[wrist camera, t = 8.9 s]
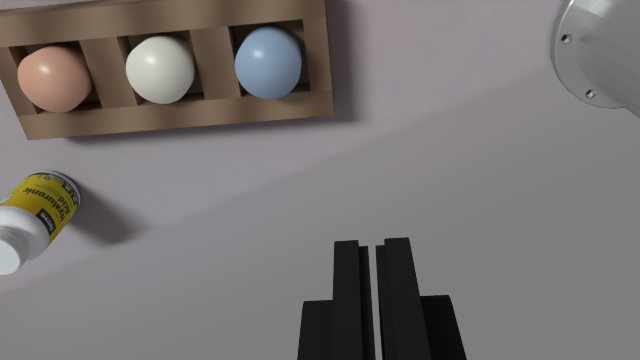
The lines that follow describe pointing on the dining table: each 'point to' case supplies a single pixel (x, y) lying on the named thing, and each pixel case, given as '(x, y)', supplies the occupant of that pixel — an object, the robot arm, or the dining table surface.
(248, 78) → the blue rounded knob
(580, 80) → the robot arm
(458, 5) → the dining table surface
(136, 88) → the cream button
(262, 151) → the dining table surface
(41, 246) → the supplement bottle
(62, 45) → the pink rounded dome
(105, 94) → the wooden compartment tray
